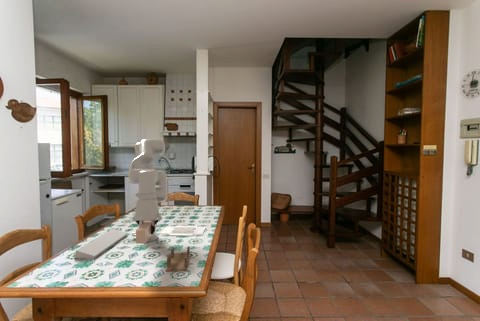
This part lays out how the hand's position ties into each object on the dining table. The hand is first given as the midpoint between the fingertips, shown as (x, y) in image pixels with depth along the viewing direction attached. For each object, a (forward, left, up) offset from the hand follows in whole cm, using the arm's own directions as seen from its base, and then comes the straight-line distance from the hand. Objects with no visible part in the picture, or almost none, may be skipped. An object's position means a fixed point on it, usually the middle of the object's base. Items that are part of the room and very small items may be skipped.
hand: (147, 233), depth 122 cm
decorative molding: (-31, +24, -16) cm, 42 cm away
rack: (+15, 0, -15) cm, 21 cm away
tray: (+11, +48, -16) cm, 52 cm away
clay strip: (0, 0, -1) cm, 1 cm away
